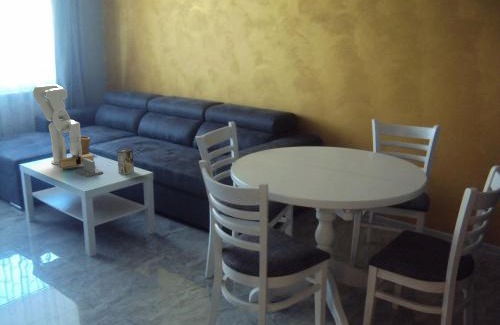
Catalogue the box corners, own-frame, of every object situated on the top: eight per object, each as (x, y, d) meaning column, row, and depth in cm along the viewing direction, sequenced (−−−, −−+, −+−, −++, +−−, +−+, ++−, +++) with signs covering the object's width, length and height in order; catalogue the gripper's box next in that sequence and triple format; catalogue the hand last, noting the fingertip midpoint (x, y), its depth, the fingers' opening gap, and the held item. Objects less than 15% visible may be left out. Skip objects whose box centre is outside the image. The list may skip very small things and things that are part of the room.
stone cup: (94, 154, 382) (92, 136, 378) (80, 157, 374) (78, 139, 370) (84, 151, 392) (83, 133, 388) (70, 154, 384) (69, 135, 379)
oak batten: (59, 167, 341) (59, 159, 339) (90, 161, 357) (90, 153, 355) (62, 169, 338) (61, 160, 336) (93, 162, 354) (93, 155, 353)
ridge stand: (76, 172, 337) (75, 159, 335) (91, 168, 346) (90, 156, 343) (87, 177, 327) (86, 163, 324) (103, 173, 335) (102, 160, 332)
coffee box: (127, 170, 343) (126, 148, 339) (134, 171, 340) (133, 150, 336) (118, 173, 336) (116, 151, 331) (124, 175, 333) (123, 152, 328)
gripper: (64, 137, 344) (66, 161, 350) (76, 142, 333) (77, 167, 339) (74, 135, 350) (76, 159, 355) (86, 140, 339) (87, 165, 344)
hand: (76, 162), depth 347 cm, fingers closed on oak batten, 4 cm apart
